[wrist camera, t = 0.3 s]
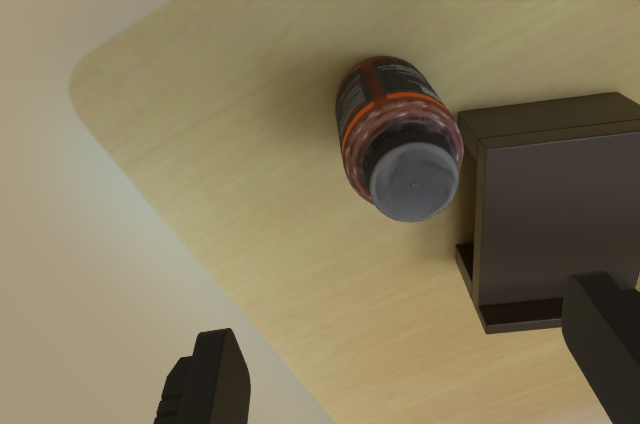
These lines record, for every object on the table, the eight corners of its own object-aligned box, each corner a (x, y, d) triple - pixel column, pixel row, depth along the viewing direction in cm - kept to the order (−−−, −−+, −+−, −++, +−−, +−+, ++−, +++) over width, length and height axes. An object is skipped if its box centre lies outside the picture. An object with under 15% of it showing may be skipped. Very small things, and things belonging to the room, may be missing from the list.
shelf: (458, 111, 31) (496, 163, 25) (618, 91, 31) (702, 139, 24) (455, 260, 38) (485, 335, 31) (588, 246, 37) (649, 319, 30)
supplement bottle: (333, 145, 32) (341, 241, 23) (336, 53, 29) (347, 119, 20) (422, 146, 33) (468, 242, 23) (435, 54, 30) (494, 120, 20)
